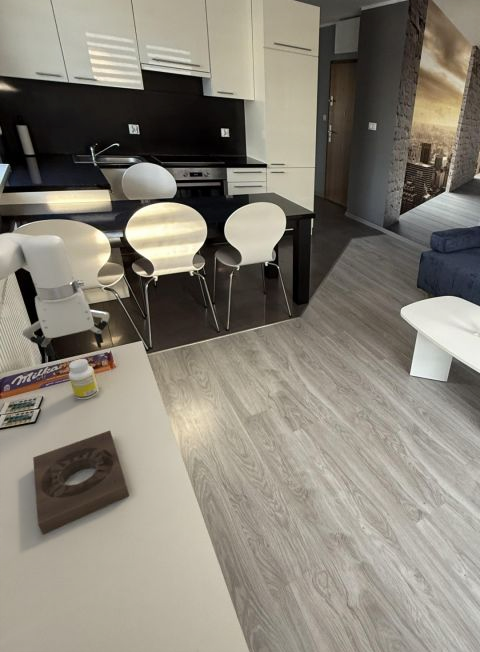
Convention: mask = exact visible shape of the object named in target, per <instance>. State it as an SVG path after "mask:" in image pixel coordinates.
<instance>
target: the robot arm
mask: <svg viewBox="0 0 480 652" xmlns="http://www.w3.org/2000/svg"><path fill="white" fill-rule="evenodd" d="M24 267H27V268H28V271H29V274H30V276H31V279H32V283H33V285H34V288H35V292H36V294H37V295H36V296H35V297H34V303H35V304H34V305H35V310H36V314H37V318H38V320H37V321H35V322H34V323H33V324H31V325H29V326H28V327H26V328H25V329H23V330H22V332H21V333H22V336H23V337H24V338H26V339H27V340H28V341H29V340H30V343H33V344H36V345H39V346H41V348H43V350H44V352H45V355H46V357H50V359H51V361H55V360H56V354H55V351H54V347H53V345H52V342H51V341H52V340H53V339H54V338H59V337H63V336H67V335H73V334H78V333H80V332H81V333H82V332H86V331H88V330H89V331H91V332H93V335H94V339H95V343H96V345H97V348H98V349H101V348H102V347H103V346H102V345H101V344H103V343H104V339H103V335H102V333H103V330H104V329H105V328H106V327H107V325H108V322H109V320H110V317H111V315H110V313H109V312H107V311H101V310H95V309H91V308H90V305H89V302H88V299H87V296H86V294H85V293H84V291H83V289H82V288H81V287H84V286H85V283H84V280H83V279H82V280H81V279H80V280H77V279H75V275H74V271H73V267H72V264H71V261H70V258H69V254H68V250H67V247H66V244H65V241H64V240H63V238H61V237H60V236H58V235H54V234H39V235H30V234H24V233H18V232H5V233H0V281H1V280H4V279H6V278H8V277H9V276H11V275H13V274H14V273H15V272H17V271H18V270H19V269H23V268H24ZM94 318H100V321H99V322H98V323H95V321H94ZM39 329H41V331H42V334H43V335H42V336H39V335H36V334H34V333H35V332H37V331H38V330H39Z"/></svg>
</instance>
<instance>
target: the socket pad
mask: <svg viewBox="0 0 480 652" xmlns="http://www.w3.org/2000/svg"><path fill="white" fill-rule="evenodd" d="M32 462H33V476H34V489H35V490H34V491H35V502H36V515H37V517H36V518H37V525H38V528H39V530H40V532H41V535H46V534H47V533H49V532H51V531H54V530H56V529H58V528H61V527H63V526H65V525H68V524H69V523H72V522H74V521H76V520H78V519H81V518H83V517H86V516H88V515H89V514H92V513H95V512H96V511H97V512H98V511H99V510H101V509H104V508H106V507H108V506H110V505H112V504H114V503H117V502H119V501H121V500H123V499H126V498H128V497H130V493H129V489H128V485H127V483H126V478H125V476H124V472H123V469H122V466H121V463H120V459H119V456H118V452H117V449H116V445H115V442H114V439H113V435H112V431H111V430H107V431H103V432H101V433H98V434H96V435H93V436H90V437H87V438H84V439H82V440H79V441H75V442H73V443H70V444H67V445H65V446H62V447H58V448H55V449H53V450H50V451H47V452H44V453H41V454H39V455H36V456H33V458H32ZM87 469H93V470H95V472H94V473H92V475H91V476H90V477H89V478H87V479H86V480H84V481H81V482H79V483H77V484H76V483H75V484H70V485H68V484H65V482H66V481H67V480H68V479H69V478H70V477H71V476H72V475H74V474H75V473H77V472H80V471H83V470H87Z"/></svg>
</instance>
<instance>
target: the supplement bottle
mask: <svg viewBox="0 0 480 652" xmlns="http://www.w3.org/2000/svg"><path fill="white" fill-rule="evenodd" d="M68 367H69V373H68V379H69V382H70V385H71V388H72V391H73V394H74V397H75V398H76V399H78V400H88V399H91V398H93V397H95V396H96V395H98V394H99V392H100V387H99V383H98V380H97V376H96V373H95V369H94V368H93V367H92V366H91V365H89V361H88V360H87V359H86V358H80V359H79V358H78V359H74V360H73V361H71V362H70V363H69V364H68Z"/></svg>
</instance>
